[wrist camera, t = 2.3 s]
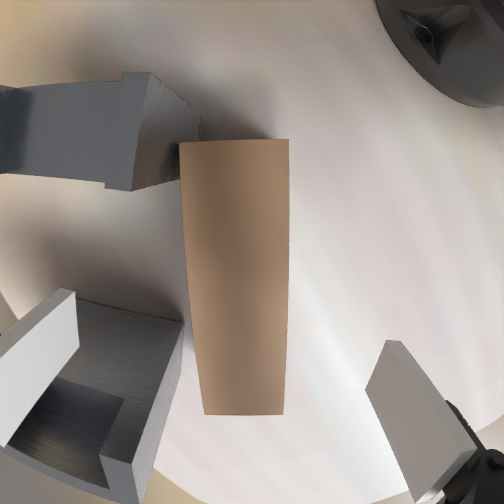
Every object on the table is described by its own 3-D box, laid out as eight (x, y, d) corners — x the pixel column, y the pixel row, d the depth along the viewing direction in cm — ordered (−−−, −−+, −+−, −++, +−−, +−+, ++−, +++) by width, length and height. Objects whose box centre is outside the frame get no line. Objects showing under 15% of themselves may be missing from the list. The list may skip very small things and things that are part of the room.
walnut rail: (278, 146, 19) (288, 139, 14) (277, 361, 24) (283, 414, 18) (200, 148, 19) (179, 142, 14) (213, 362, 24) (204, 414, 18)
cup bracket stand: (212, 117, 19) (148, 48, 6) (180, 374, 24) (141, 509, 11) (78, 108, 18) (-63, 84, 6) (72, 346, 24) (-6, 446, 11)
